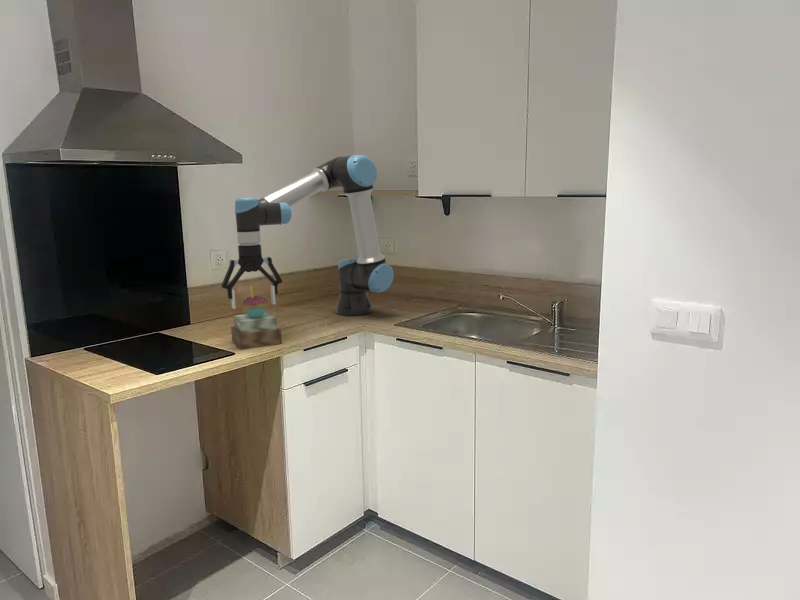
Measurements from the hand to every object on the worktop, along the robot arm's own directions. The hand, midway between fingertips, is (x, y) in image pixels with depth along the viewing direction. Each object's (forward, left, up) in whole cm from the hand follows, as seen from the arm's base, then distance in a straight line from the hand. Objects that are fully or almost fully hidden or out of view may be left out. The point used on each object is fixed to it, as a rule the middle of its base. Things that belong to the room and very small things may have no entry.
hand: (254, 306), depth 198 cm
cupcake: (0, 0, -4) cm, 4 cm away
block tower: (0, 0, -13) cm, 13 cm away
